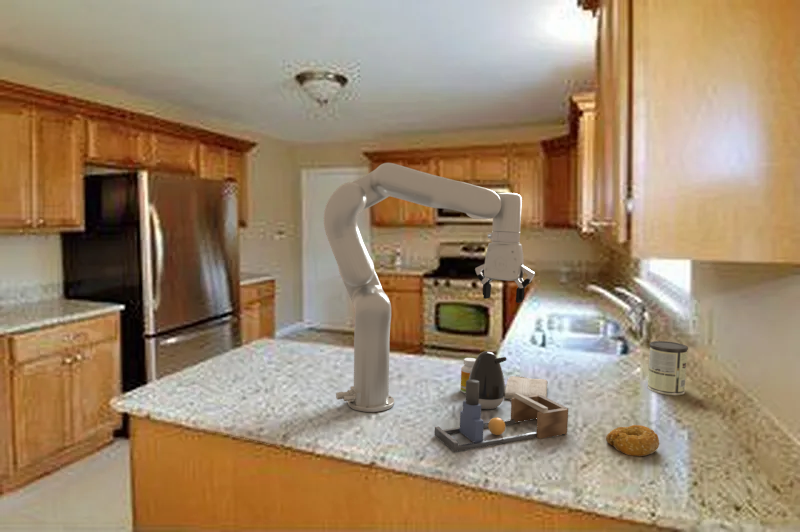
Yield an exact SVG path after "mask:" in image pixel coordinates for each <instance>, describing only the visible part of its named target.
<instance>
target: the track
mask: <svg viewBox="0 0 800 532" xmlns="http://www.w3.org/2000/svg"><path fill="white" fill-rule="evenodd" d="M502 420H503V419H502ZM503 421H504V423H505V426H510V425H515V424H516V423H515V420H514V419H511V418H508V419H504V420H503ZM514 423H515V424H514ZM488 424H489V422H484V424H483V430H485V429H489V428H488ZM509 424H510V425H509ZM459 433H460V434H462V433H461V432H460V426H459V427H452V428H446V429H442V427H440V426H434V437H436V438H437V439H438V440H439V441H440V442H442V443H443V444H444V445H445V446H446V447H447V448H449V449H450V450H451V451H452V452H453V453H457V452H463V451H469V450H474V449H480V448H486V447H490V446H496V445H497V446H498V445H502V444H508V443H513V442H519V441H525V440H530V439H531V440H532V439H535V437H536V438H537V431H532V432H526V433H521V434H515V435H509V436H505V437H498V438H492V439H486V440H483V441H480V442H469V443H463V444H459V442H458V440H456V439H454V438H453V437H452V436H451V435H453V434H454V435H455V434H459Z"/></svg>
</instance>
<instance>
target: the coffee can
mask: <svg viewBox="0 0 800 532" xmlns="http://www.w3.org/2000/svg"><path fill="white" fill-rule="evenodd" d="M688 350H689V347H688V346H687V345H685V344H683V343H678V342H673V341H668V340H667V341H663V340H657V341H656V340H655V341H650V342H649V355H648V356H649V357H648V358H649V360H648V375H647V376H648V377H647V378H648V379H647V389H648V390H650V391H651V392H654V393H657V394H661V395H666V396H681V395H682V396H683V395H684V394H686V377H687V376H686V375H687V359H688Z"/></svg>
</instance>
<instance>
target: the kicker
mask: <svg viewBox="0 0 800 532" xmlns="http://www.w3.org/2000/svg"><path fill="white" fill-rule="evenodd" d="M459 411H460V412H459V427H460V432H461V433H460V434H462V435H464V437H466V438H467V439H469V441H472V443H474V442H480V441H484V429H483V424H484V423H485V421H484V419H482V409H481V405H480V404H479V381H477V380H467V381H466V394H465V400H462V410H459Z"/></svg>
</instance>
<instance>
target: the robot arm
mask: <svg viewBox="0 0 800 532" xmlns="http://www.w3.org/2000/svg"><path fill="white" fill-rule="evenodd" d="M389 197H390V198H391V197H392V198H395V199H398V200H403V201H406V202H410V203H414V204H416V205H420V206H424V207H429V208H433V209H444V210H452V211H457V212H460V213H464V214H466V216H468V217H469V218H471V219H474V220H489V219H490V220H491V219H492V227H491V228H492V231H491V233H487V239H490V241H491V242H488V246H487V248H486V254H485V257H484V258H485V259H484V263H483V264H481V265H479V266H477V267H475V269H474V270H475V273H476V275H477V278H478V279H479V281H480V282H481V285H482V295H483V297H482V298H483V299H484V300H486V299H490V298H491V296H492V295H491V293H492V291H491V290H492V284H491V282H492V281H493V280H498V281H499V280H500V281H509V282H510V281H511V282H513V281H514V283H516V285H517V287H516V290H515V292H516V293H515V302H516V303H517V304H519V303H520V304H521V303H522V302H523V301H524V300H525V292H526V291H525V289H526V288H527V286H529V284H531V283H532V281H533V279H534V277H535V276H536V273H535V271H533V270H531V269H530V268H528V267H527V266H525V265H524V260H525V259H524V251H523V245H522V243H520V241H521V225H522V224H521V222H522V220H521V219H522V203H523V202H522V201H523V200H522V199H523V198H522V196H521V195H520V194H518V193H515V192H513V193H512V192H501V193H500V192H499V193H496V192H495V191H494V190H492V189H489V188H486V187H482V186H479V185H475V184H471V183H468V182H464V181H459V180H454V179H451V178H447V177H443V176H438V175H435V174H432V173H428V172H424V171H421V170H417V169H414V168H411V167H407V166H403V165H401V164H397V163H392V162H384V163H381V164H380V165H378V166H377V167H376V168H375V169H373V170H372V171H370V172H369V173H367V174H365V175H363V176H362V177H359V178H358V179H356V180H354V181H352V182H350V181H349V182H345V183H342V184H341V185H339V186H338V187H337V188H336V189H335V190H334V192H333V193H332V194H331V195H330V198H328V201H327V203H326V205H325V208H324V211H323V228H324V231H325V234H326V237H327V241H328V242H329V246H330V249H331V251H332V254H333V256H334V259H335V261H336V264H337V266H338V271H339V274H340V277H341V278H342V281H343V284H344V286H345V289H346V292H347V293H348V296H349V298H350V301H351V302H352V305H353V308H354V328H353V329H354V330H353V331H354V333H353V336H354V337H353V338H354V339H353V349H354V351H353V355H354V356H353V385H351V386H350V387H349V388H350V389H347V391H337V392H335V398H336V400H339V401H340V400H343V402H347V406H348V407H349V408H351V409H352V410H355V411H359V412H367V413H373V412H374V413H375V412H384V411H386V410H389V409H391V408H392V407H394V405H395V399H394V397H392V396H391V395H390V394H389V391H390V389H389V387H390V386H389V385H390V342H391V341H390V338H391V337H390V335H391V334H390V333H391V321H392V304H391V301H390V298H389V296H388V294H386V293H385V291H384V289H383V287H382V284H381V282H380V279H379V277H378V274H377V273H376V270H375V264H374V261H373V259H372V258H371V256H370V254H369V251H368V249H367V247H366V245H365V243H364V240H363V237H362V234H361V232H360V229H359V226H358V216H359V214H360V213H361V212H363V211H365V210H366V209H369V208H370V207H373V206H374V205H376V204H378V203H380V202H383V201H384V200H386V199H387V198H389ZM524 274H526V275H527V276H526V278H525V279H523V278H524Z"/></svg>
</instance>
